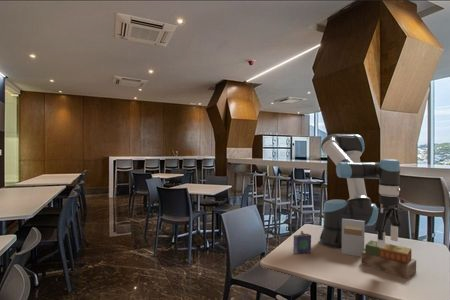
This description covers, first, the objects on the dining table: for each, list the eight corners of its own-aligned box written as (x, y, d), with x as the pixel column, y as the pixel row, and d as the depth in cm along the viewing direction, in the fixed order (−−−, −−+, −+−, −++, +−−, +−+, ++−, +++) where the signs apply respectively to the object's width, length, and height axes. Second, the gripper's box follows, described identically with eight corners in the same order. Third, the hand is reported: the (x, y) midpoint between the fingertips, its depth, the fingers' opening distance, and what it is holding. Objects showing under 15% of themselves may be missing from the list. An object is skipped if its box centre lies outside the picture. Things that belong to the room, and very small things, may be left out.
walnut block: (361, 263, 122) (361, 252, 122) (371, 257, 128) (371, 247, 128) (407, 278, 108) (407, 266, 108) (416, 271, 114) (416, 260, 114)
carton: (407, 264, 109) (408, 253, 109) (364, 253, 120) (364, 243, 120) (411, 258, 116) (411, 248, 116) (370, 248, 126) (370, 239, 126)
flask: (294, 255, 130) (295, 232, 130) (291, 253, 133) (292, 231, 133) (311, 253, 132) (312, 231, 132) (308, 251, 135) (308, 230, 135)
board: (341, 250, 137) (342, 217, 137) (363, 253, 133) (364, 220, 133) (341, 253, 133) (341, 219, 133) (364, 257, 129) (364, 222, 129)
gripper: (386, 199, 107) (384, 253, 107) (409, 193, 122) (408, 240, 123) (366, 196, 113) (365, 247, 113) (391, 191, 128) (390, 235, 129)
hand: (387, 243), depth 118 cm, fingers open, 13 cm apart
